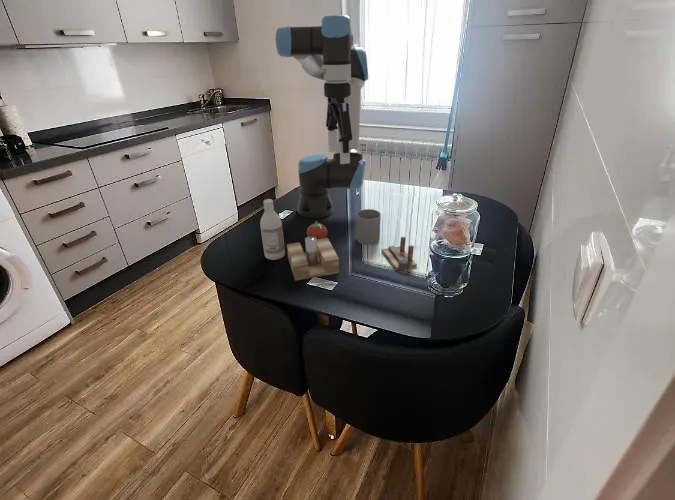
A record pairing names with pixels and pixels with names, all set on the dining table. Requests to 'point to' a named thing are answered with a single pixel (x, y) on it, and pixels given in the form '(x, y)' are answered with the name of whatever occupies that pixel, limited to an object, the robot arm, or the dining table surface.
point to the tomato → (317, 231)
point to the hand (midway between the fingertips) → (338, 157)
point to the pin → (311, 250)
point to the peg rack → (400, 256)
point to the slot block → (326, 260)
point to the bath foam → (272, 232)
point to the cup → (368, 226)
